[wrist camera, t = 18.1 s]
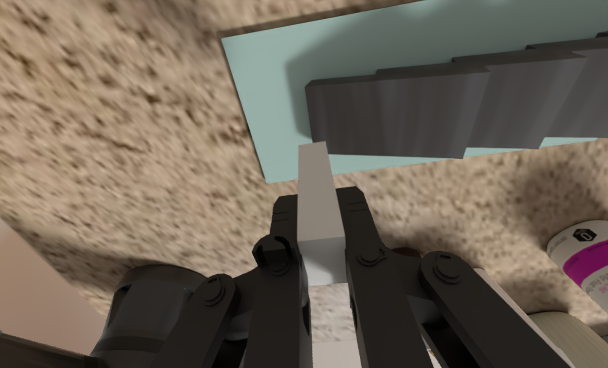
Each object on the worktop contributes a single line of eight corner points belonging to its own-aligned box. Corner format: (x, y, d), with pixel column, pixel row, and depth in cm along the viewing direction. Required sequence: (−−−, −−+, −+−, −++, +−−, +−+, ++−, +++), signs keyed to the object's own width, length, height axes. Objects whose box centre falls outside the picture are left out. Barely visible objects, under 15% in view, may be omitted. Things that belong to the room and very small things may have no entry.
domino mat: (267, 180, 24) (266, 183, 23) (223, 37, 16) (220, 38, 16) (590, 137, 21) (596, 140, 21) (723, -56, 14) (735, -58, 13)
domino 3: (439, 136, 19) (629, 138, 15) (456, 62, 15) (707, 38, 11) (436, 127, 20) (610, 126, 16) (452, 57, 17) (676, 34, 13)
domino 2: (372, 145, 19) (538, 149, 15) (375, 75, 16) (588, 57, 12) (374, 136, 20) (527, 137, 17) (377, 69, 17) (570, 51, 13)
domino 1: (314, 153, 19) (462, 158, 16) (304, 86, 16) (490, 71, 12) (319, 144, 21) (458, 146, 17) (311, 80, 17) (481, 64, 13)
